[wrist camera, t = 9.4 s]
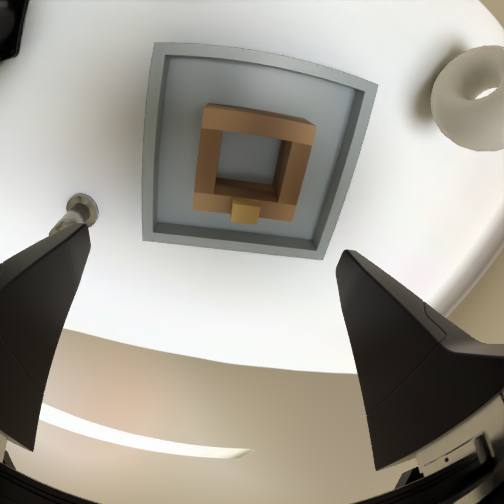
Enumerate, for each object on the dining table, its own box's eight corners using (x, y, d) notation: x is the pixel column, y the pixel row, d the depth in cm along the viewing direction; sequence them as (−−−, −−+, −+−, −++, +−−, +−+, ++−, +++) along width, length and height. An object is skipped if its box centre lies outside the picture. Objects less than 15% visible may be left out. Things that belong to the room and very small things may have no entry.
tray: (162, 45, 14) (154, 42, 12) (365, 82, 16) (378, 84, 14) (148, 226, 22) (142, 240, 20) (316, 246, 24) (322, 260, 22)
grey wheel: (456, 34, 13) (549, 46, 4) (477, 64, 14) (565, 88, 6) (400, 108, 17) (495, 147, 9) (425, 136, 18) (513, 188, 10)
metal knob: (66, 192, 19) (39, 219, 16) (96, 194, 20) (71, 222, 16) (71, 224, 21) (47, 254, 17) (99, 227, 21) (78, 259, 18)
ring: (197, 191, 20) (190, 217, 17) (208, 102, 16) (201, 109, 13) (284, 202, 21) (294, 230, 18) (304, 118, 17) (321, 129, 14)
